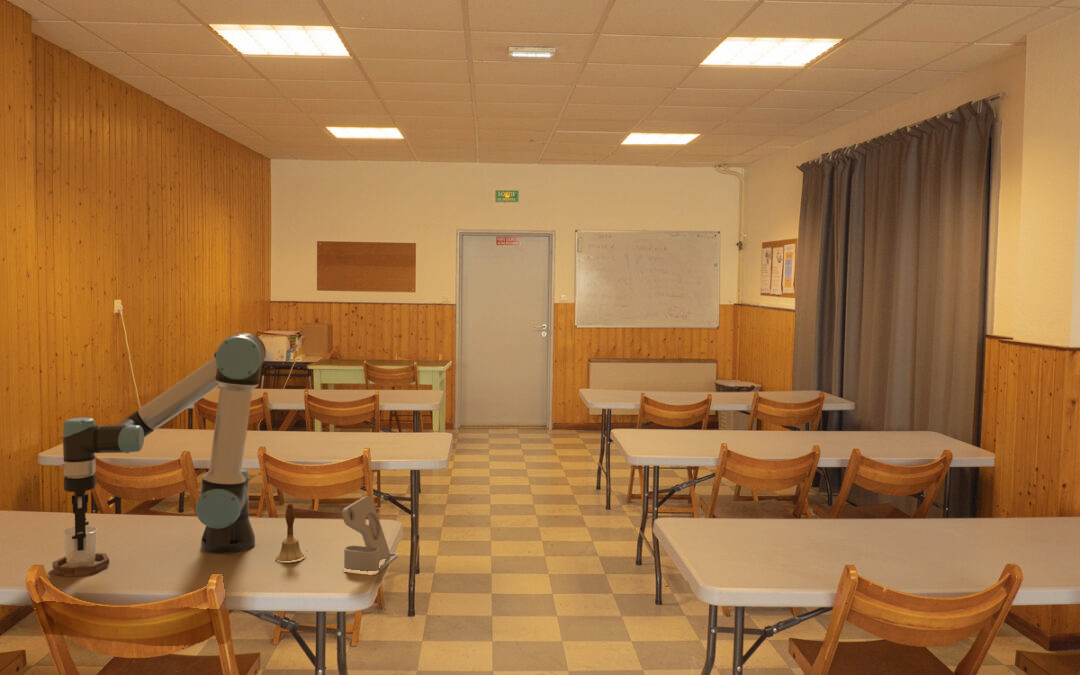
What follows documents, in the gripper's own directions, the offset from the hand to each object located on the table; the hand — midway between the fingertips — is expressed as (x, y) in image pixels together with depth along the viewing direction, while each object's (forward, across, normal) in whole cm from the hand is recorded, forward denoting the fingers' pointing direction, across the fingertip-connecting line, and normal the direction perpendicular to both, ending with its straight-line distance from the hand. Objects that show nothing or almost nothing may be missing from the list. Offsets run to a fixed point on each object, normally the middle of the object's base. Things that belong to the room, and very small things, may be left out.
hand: (81, 555), depth 224 cm
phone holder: (+4, +30, +72) cm, 78 cm away
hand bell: (+4, +16, +53) cm, 55 cm away
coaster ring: (+3, 0, 0) cm, 3 cm away
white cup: (+3, 0, 0) cm, 3 cm away
